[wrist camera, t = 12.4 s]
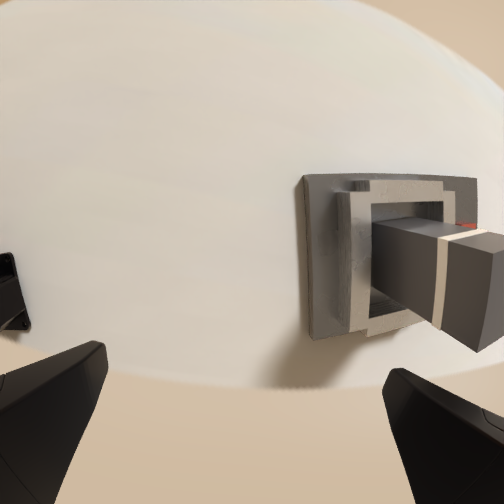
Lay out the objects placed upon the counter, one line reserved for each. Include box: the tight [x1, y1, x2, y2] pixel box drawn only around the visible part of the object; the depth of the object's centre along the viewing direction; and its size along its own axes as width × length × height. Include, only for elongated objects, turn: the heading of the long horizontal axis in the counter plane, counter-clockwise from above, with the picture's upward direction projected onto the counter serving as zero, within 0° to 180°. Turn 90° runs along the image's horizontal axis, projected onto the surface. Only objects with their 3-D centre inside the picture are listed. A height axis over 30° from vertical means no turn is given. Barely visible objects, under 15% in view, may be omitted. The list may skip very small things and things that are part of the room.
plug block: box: [372, 217, 504, 353], centre depth 15 cm, size 4×5×11 cm
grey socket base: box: [303, 173, 477, 340], centre depth 20 cm, size 18×12×3 cm, turn 95°
